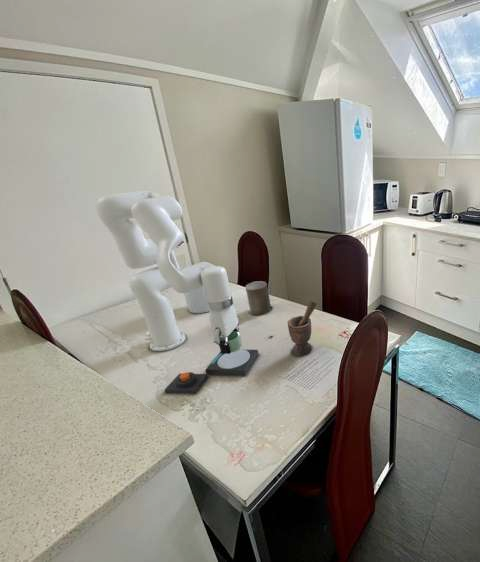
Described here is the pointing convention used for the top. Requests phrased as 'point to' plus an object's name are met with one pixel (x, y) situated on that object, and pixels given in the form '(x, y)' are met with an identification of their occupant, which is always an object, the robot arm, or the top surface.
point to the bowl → (234, 341)
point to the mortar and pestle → (301, 330)
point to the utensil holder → (197, 301)
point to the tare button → (184, 377)
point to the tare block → (186, 384)
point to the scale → (233, 363)
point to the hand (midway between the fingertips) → (231, 346)
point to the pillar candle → (258, 297)
